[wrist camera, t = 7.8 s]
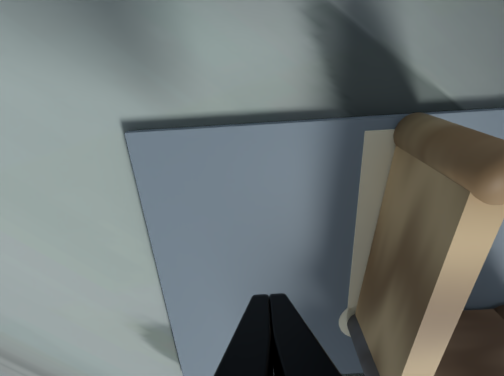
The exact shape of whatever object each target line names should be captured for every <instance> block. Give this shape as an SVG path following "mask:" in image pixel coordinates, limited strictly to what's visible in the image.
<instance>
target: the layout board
mask: <svg viewBox="0 0 504 376" xmlns="http://www.w3.org/2000/svg"><path fill="white" fill-rule="evenodd" d="M410 114H412V113H410ZM426 114H429V115H432V116H435V117H438V118H441V119H444V120H447V121H450V122H452V123H455V124H458V125H461V126H464V127H467V128H470V129H473V130H476V131H479V132H482V133H485V134H488V135H491V136H494V137H497V138H500V139H503V140H504V108H491V109H475V110H459V111H442V112H426ZM407 115H409V114H394V115H377V116H361V117H345V118H328V119H312V120H296V121H279V122H263V123H247V124H231V125H214V126H198V127H182V128H165V129H149V130H133V131H127V132H125V133H124V134H125V138H126V142H127V147H128V151H129V155H130V159H131V163H132V167H133V171H134V175H135V179H136V184H137V188H138V192H139V196H140V200H141V204H142V208H143V212H144V217H145V221H146V225H147V229H148V233H149V237H150V241H151V245H152V250H153V254H154V258H155V262H156V266H157V270H158V274H159V278H160V283H161V287H162V291H163V295H164V299H165V303H166V307H167V311H168V315H169V320H170V324H171V328H172V332H173V336H174V340H175V344H176V348H177V353H178V357H179V361H180V365H181V369H182V373H183V376H214V374H215V371H216V369H217V367H218V365H219V363H220V361H221V359H222V357H223V355H224V353H225V351H226V349H227V347H228V345H229V343H230V341H231V338H232V336H233V334H234V332H235V330H236V328H237V326H238V324H239V322H240V320H241V318H242V316H243V314H244V312H245V310H246V308H247V305H248V303H249V301H250V299H251V297H252V296H253V295H255V294H268V296H269V295H270V294H274V293H284V294H286V295H287V297H288V298H289V300H290V301H291V302H292V304H293V305H294V307H295V308H296V310H297V311H298V313H299V314H300V315H301V317H302V318H303V320H304V321H305V323H306V324H307V326H308V327H309V328H310V330H311V331H312V333H313V334H314V336H315V337H316V339H317V340H318V341H319V343H320V344H321V346H322V347H323V349H324V350H325V352H326V353H327V355H328V356H329V357H330V359H331V360H332V362H333V363H334V365H335V366H336V368H337V369H338V370H339V372H340V373H341V374H358V373H363V370H362V367H361V364H360V361H359V358H358V356H357V353H356V350H355V347H354V344H353V342H352V339H351V336H350V333H349V330H348V327H347V322H348V320H349V318H350V317H351V316H352V315H354V314H355V312H356V308H357V304H358V299H359V295H360V291H361V287H362V283H363V279H364V275H365V270H366V266H367V262H368V258H369V254H370V250H371V246H372V242H373V237H374V233H375V229H376V225H377V221H378V217H379V213H380V209H381V204H382V200H383V196H384V192H385V188H386V184H387V180H388V176H389V171H390V167H391V163H392V159H393V155H394V151H395V147H396V145H395V143H394V138H393V135H394V130H395V128H396V126H397V124H398V123H399V122H400V121H401V120H402V119H403V118H404V117H405V116H407ZM501 305H504V219H503V221H502V224H501V226H500V228H499V230H498V233H497V235H496V237H495V239H494V242H493V244H492V246H491V248H490V251H489V253H488V255H487V257H486V260H485V262H484V264H483V266H482V269H481V271H480V273H479V275H478V278H477V280H476V282H475V284H474V287H473V289H472V291H471V293H470V296H469V298H468V300H467V302H466V305H465V307H464V309H463V310H483V309H494V308H496V307H498V306H501Z"/></svg>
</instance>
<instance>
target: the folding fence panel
mask: <svg viewBox="0 0 504 376" xmlns="http://www.w3.org/2000/svg"><path fill="white" fill-rule="evenodd" d="M393 138H394V143H395V145H396V147H395V151H394V155H393V159H392V163H391V167H390V171H389V176H388V180H387V184H386V188H385V192H384V196H383V200H382V204H381V209H380V213H379V217H378V221H377V225H376V229H375V233H374V237H373V242H372V246H371V250H370V254H369V258H368V262H367V266H366V270H365V275H364V279H363V283H362V287H361V291H360V295H359V299H358V304H357V308H356V312H355V314H354V315H352V316H351V317H350V318H349V320H348V322H347V327H348V330H349V333H350V336H351V339H352V342H353V344H354V347H355V350H356V353H357V356H358V358H359V361H360V364H361V367H362V370H363V373H364V375H365V376H434V374H435V372H436V370H437V367H438V365H439V363H440V361H441V358H442V356H443V354H444V352H445V349H446V347H447V345H448V343H449V340H450V338H451V336H452V334H453V332H454V329H455V327H456V325H457V323H458V320H459V318H460V316H461V314H462V311H463V309H464V307H465V305H466V302H467V300H468V298H469V296H470V293H471V291H472V289H473V287H474V284H475V282H476V280H477V278H478V275H479V273H480V271H481V269H482V266H483V264H484V262H485V260H486V257H487V255H488V253H489V251H490V248H491V246H492V244H493V242H494V239H495V237H496V235H497V233H498V230H499V228H500V226H501V224H502V221H503V219H504V140H503V139H500V138H497V137H494V136H491V135H488V134H485V133H482V132H479V131H476V130H473V129H470V128H467V127H464V126H461V125H458V124H455V123H452V122H450V121H447V120H444V119H441V118H438V117H435V116H432V115H429V114H426V113H422V112H416V113H412V114H409V115H407V116H405V117H404V118H403V119H402V120H401V121H400V122H399V123H398V124H397V126H396V128H395V130H394V135H393Z"/></svg>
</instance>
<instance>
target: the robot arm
mask: <svg viewBox="0 0 504 376" xmlns="http://www.w3.org/2000/svg"><path fill="white" fill-rule="evenodd" d="M214 376H342V375H341V373H340V372H339V370H338V369H337V368H336V366H335V365H334V363H333V362H332V360H331V359H330V357H329V356H328V355H327V353H326V352H325V350H324V349H323V347H322V346H321V344H320V343H319V341H318V340H317V339H316V337H315V336H314V334H313V333H312V331H311V330H310V328H309V327H308V326H307V324H306V323H305V321H304V320H303V318H302V317H301V315H300V314H299V313H298V311H297V310H296V308H295V307H294V305H293V304H292V302H291V301H290V300H289V298H288V297H287V295H286V294H284V293H274V294H270V295H269V296H268V294H255V295H253V296H252V297H251V299H250V301H249V303H248V305H247V308H246V310H245V312H244V314H243V316H242V318H241V320H240V322H239V324H238V326H237V328H236V330H235V332H234V334H233V336H232V338H231V341H230V343H229V345H228V347H227V349H226V351H225V353H224V355H223V357H222V359H221V361H220V363H219V365H218V367H217V369H216V371H215V374H214Z"/></svg>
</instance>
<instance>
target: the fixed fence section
mask: <svg viewBox="0 0 504 376" xmlns="http://www.w3.org/2000/svg"><path fill="white" fill-rule="evenodd" d="M434 376H504V305H501V306H498V307H496V308H494V309H483V310H463V311H462V314H461V316H460V318H459V320H458V323H457V325H456V327H455V329H454V332H453V334H452V336H451V338H450V340H449V343H448V345H447V347H446V349H445V352H444V354H443V356H442V358H441V361H440V363H439V365H438V367H437V370H436V372H435V374H434Z"/></svg>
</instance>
